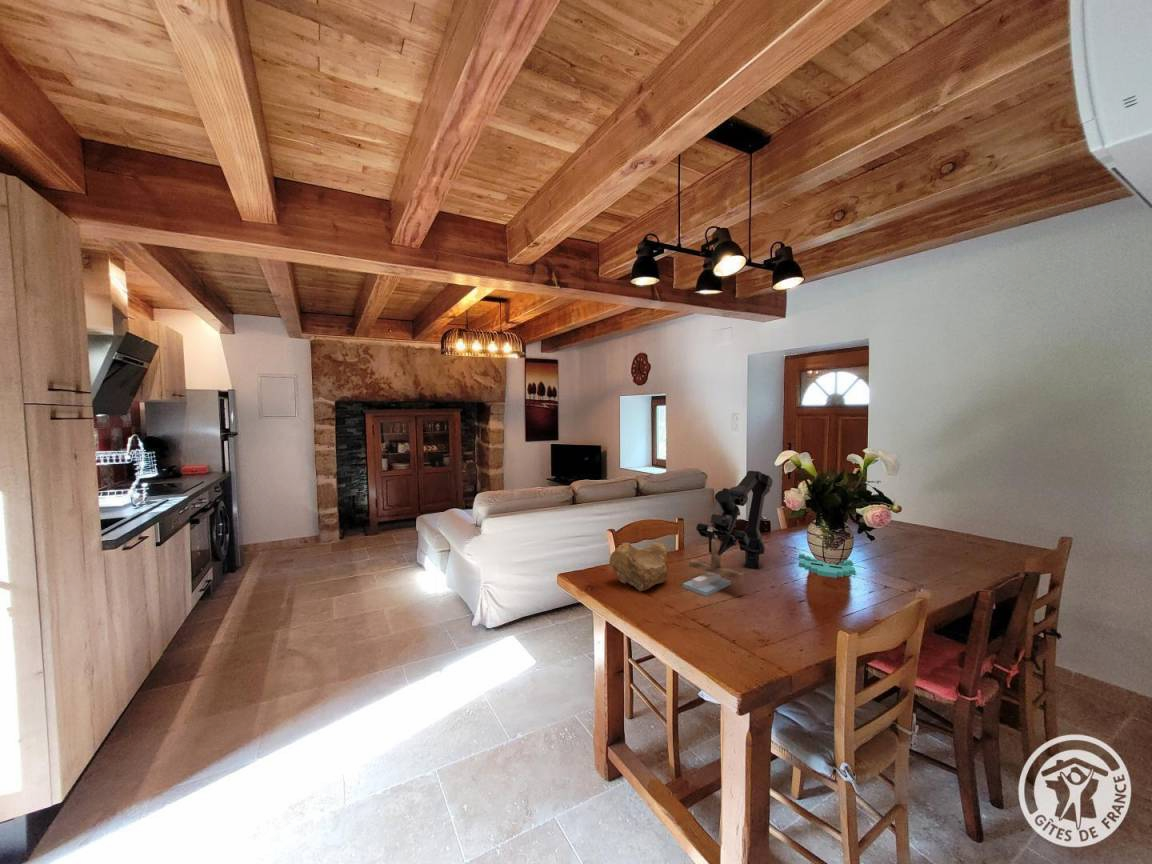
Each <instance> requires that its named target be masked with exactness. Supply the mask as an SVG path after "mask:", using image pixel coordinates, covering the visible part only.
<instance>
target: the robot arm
mask: <svg viewBox="0 0 1152 864" xmlns="http://www.w3.org/2000/svg"><path fill="white" fill-rule="evenodd" d="M772 486H773V478H772V477H771V476H770V475H768V474H765V473H762V472H761V471H759V470H758V471H757V470H748V471H747V472H746V475H745V476H744V477H743V479H742V480H741V481H740V482H739V483H738V484H737V485H735V486H732V487H730V488H726V487H723V489H722V490H719V491H717V492H716V493H715V494H714V500H715V501H716V504H717V505H718V507H719V509H720V510H721V514H715V513H712V514H711V516H710V524H713V525H712V526H713V527H710V525H709V524H707V523H702V522H698V523H697V524H696V527H695V529H696V531H697V532H698V534H699V536H700V537H705V538H708V553H709V554H711V544H712V539H713V538H717V537H716V536H719V537H723V539H722V541H721V547H720V549H719V552H718V555H723V554H724V553H725V552H726V551H727V550H729V549H730V548H732V547H733V546H737V543H738V544H739V545H738V546H739V550H740V551H744V561H743V565H742V566H743V567H744V568H750V569H757V570H759V569H761V562H760V555H764V554H765V550H766V546H765V544H764V542H763V539H762V538H763V537H762V534H761V532H760V525H761V519H762V514H763V508H764V502H765V498H766V497H765V496H767V495H768V494H769V493H770V492H771V487H772ZM750 492H752V495H751V502H750V508H749V512H748V513H749V514H748V518H747V524H746V526H745V528H744V529H743V528H742V529H741V530H738V529H735V528H736V527H737V525H736V522H737V518H738V516H741V510H740V508H739V506H740V507H744V506H745V505H746V504H747V503H748V500H749V497H748V494H749V493H750ZM734 529H735V530H734ZM733 530H734V531H733Z"/></svg>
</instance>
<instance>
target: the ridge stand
mask: <svg viewBox="0 0 1152 864" xmlns="http://www.w3.org/2000/svg"><path fill="white" fill-rule="evenodd" d="M731 585H732V581H731V580H730V579H726V578H723V577H722V575H719V574H715V573H712V572H708V571H707V572H706V573H704V574H701V575H699V576H697V577H695V578H692V579H690V580H688V581H685V582H683V583H682V588H683V589H685V590H688V591H690V592H694V593H696V594H699V595H702V596H703V597H709V596H711V595H712V594H715V593H716V592H718V591H720V590H723V589H724V588H727V587H729V586H731Z"/></svg>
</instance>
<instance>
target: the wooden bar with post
mask: <svg viewBox="0 0 1152 864" xmlns="http://www.w3.org/2000/svg"><path fill="white" fill-rule="evenodd" d="M721 545H722V541H721V539H720V538H718V537H715V538H713V539H712V544H711V553H710V554H711V555H710V558H711V559H710V561H711V562H706V561H702V560H697V559H695V558H692V559H690V560H688V566H689V567H690V568H693V569H698V570H701V571H705V572H707V573H708V572H712V573H715V574H719V575H721V577H722V576H723V577H726V578H729V579H730V578H731V579H734V580H736V581H743V580H744V579H745V578H746V577H745V571H744V572H743V571H740V570H735V569H732V568H729V567H724V566H721V559H722V558H721V557H722V556H721V555H722V554H721V555H718V552H719V549H720V547H721Z"/></svg>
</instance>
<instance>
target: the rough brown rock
mask: <svg viewBox="0 0 1152 864" xmlns="http://www.w3.org/2000/svg"><path fill="white" fill-rule="evenodd" d="M667 553H668V550H667V547H666V545H665V544H664V543H662V542H653V543H652V544H651V545H649V546H648V547H645V548H642V547H641V548H640V547H639V548H638V547H634V546H633V545H632V544H631V543H630V542H623V543H621V545H620V546H617V547H616V548H615V549H614V551H612V553H611V554H610V557H609V569H610V570H611V571H612V572H614V573H616V574H617V577H618V580H619V581H620V582H621V583H623V584H629V586H633V587H634V588H635V589H636V590H637V591H639V592H644V591H647V590H649V589H650V588H651V587H653V586H654V585H657V584H662V583H664V582H665V581H666V579H667V575H668V572H669V565H668V554H667Z"/></svg>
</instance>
